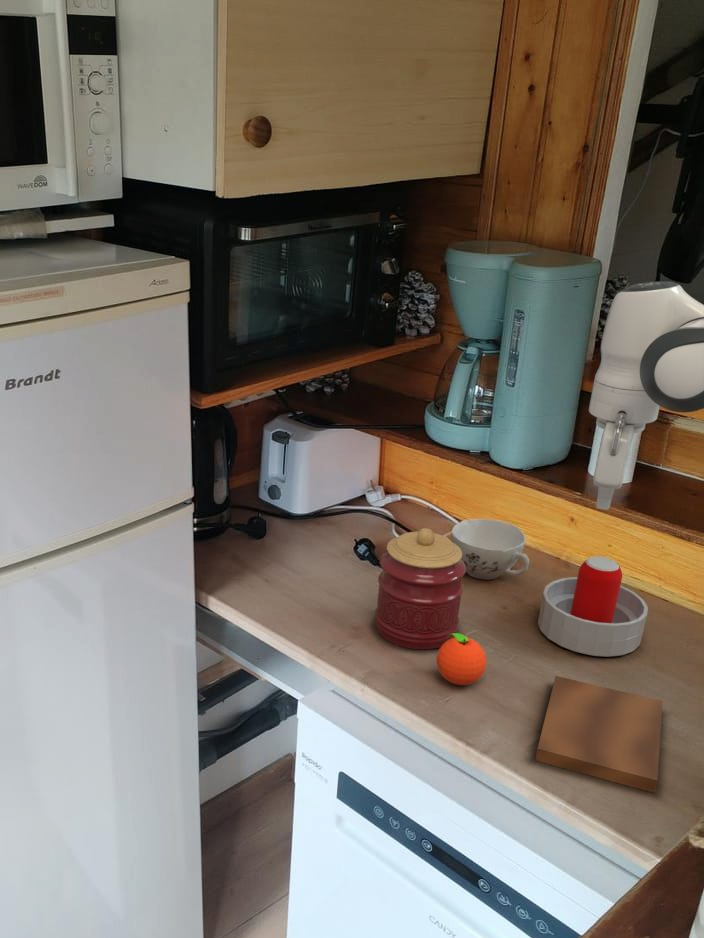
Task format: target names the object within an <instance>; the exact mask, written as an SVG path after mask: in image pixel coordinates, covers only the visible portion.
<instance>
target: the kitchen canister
mask: <svg viewBox="0 0 704 938" xmlns="http://www.w3.org/2000/svg"><path fill="white" fill-rule="evenodd" d="M461 558H462V551H461V549H460V548H459V547H458V546H457V545H456V544H455V543H453V541H452V540H450V539H449V538H448V537H447V536H444V535H442V534H439V533H435V532H434V531H433V530H432V528H429V527H423V528H421V529H420V530H417V531H409V532H405V533H403V534H401V535H399V536H396V537H394V538H392V539H390V541H389V542H387V545H386V550H385V551H384V553H382V554H381V556H380V558H379V564H380V566H381V568H382V571H381V572H380V574H378V575H379V576H378V578H377V581H378V592H377V601H376V608H375V612H374V621H375V627H376V631H377V632H378V634H379V635H381V637H382V638H384V639H385V640H386V641H388V642H390V643H392V644H395V645H397V646H400V647H404V648H406V649H407V648H408V649H414V650H431V649H432V650H434V649H438V648H441V646H442V645H443V644H444V643H445V642H446V641H448V640H449V639H451V638H455V637H454V636H453V635H452V634H451V633H458V629H459V622H460V620H459V613H460V608H461V607H460V606H461V599H462V594H463V592H464V584H463V581H462V578H463V577H464V576H465V574H466V573H467V572H466V566H465V563H464V562H463V561H462V559H461ZM449 634H451V635H450V636H449V637H448V635H449ZM447 637H448V639H447Z"/></svg>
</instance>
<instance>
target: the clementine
mask: <svg viewBox="0 0 704 938" xmlns="http://www.w3.org/2000/svg"><path fill="white" fill-rule="evenodd" d="M451 634H452V635H453V636H454V638H451V639H449V640H448V641H446V642H445V643H444V644H443V645H442V646H441V647H439V649H438V652H437V656H436V665H437V669H438V671H439V673H440V675H441V676H442V677H443V678H444V680H446V681H448V682H450V683H451V684H453V685H456V686H468V685H472V684H473V683H475V682H477V681H478V680H479V679H481V677H482V675H483V674H484V673H485V670H486V667H487V656H486V653H485V650H484V649H483V647H482V646H481V645H480V644H479V643H478V641H476V640H475V639H472V638H470V637H468V636H465V635H463V634H462V633H460V632H456V633H451ZM451 634H449V635H448V637H449V636H450V635H451ZM448 637H447V639H448Z"/></svg>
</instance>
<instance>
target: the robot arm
mask: <svg viewBox="0 0 704 938" xmlns="http://www.w3.org/2000/svg"><path fill="white" fill-rule="evenodd" d="M600 357H601V359H600V364H599V366H598V369H597V371H596V373H595V375H594V379H593V384H592V390H591V395H590V401H589V405H588V406H589V407H588V412H589V414H590V415H592V416H593V417H595V418H596V420H595V424H596V426H597V427H598V428H600V429H603V431H602V435H601V439H600V442H599V448H598V453H597V457H596V458H597V459H596V462H595V468H594V472H593V478H592V479H593V481H592V482H593V485H594V486H595V487H597V499H596V504H595V508H596V509H598V510H604V511H608V510H609V509H611V505H612V500H613V496H614V493H615V491H616V490H619V489H621V488H622V486H623V483H624V478H625V474H626V469H627V463H628V459H629V455H630V450H631V446H632V441H633V438H634V436H635V434H636V433H641V432H643V431H644V430H645V429H646V424H650V423H654V422H656V421H657V420H658V417H659V412H660V407H661V408H662V409H664V410H667V411H669V412H673V413H674V412H675V413H683V414H684V413H692V412H698V411H700V410H703V409H704V304H703V303H701V302H700V301H698V300H696V299H695V298H694V297H692V296H691V295H690V294H688V292H686V291H685V290H684V288H683V287H682V286H681V285H680V284H679V283H676V282H674V281H666V280H665V281H664V280H658V281H655V280H654V281H644V282H640V283H635V284H632V285H628V286H626V287H625V288H623V289H621V290H620V291H618V292H617V293H616V294H615V296H614V298H613V300H612V302H611V304H610V307H609V310H608V313H607V317H606V320H605V324H604V328H603V333H602V337H601V342H600Z"/></svg>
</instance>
